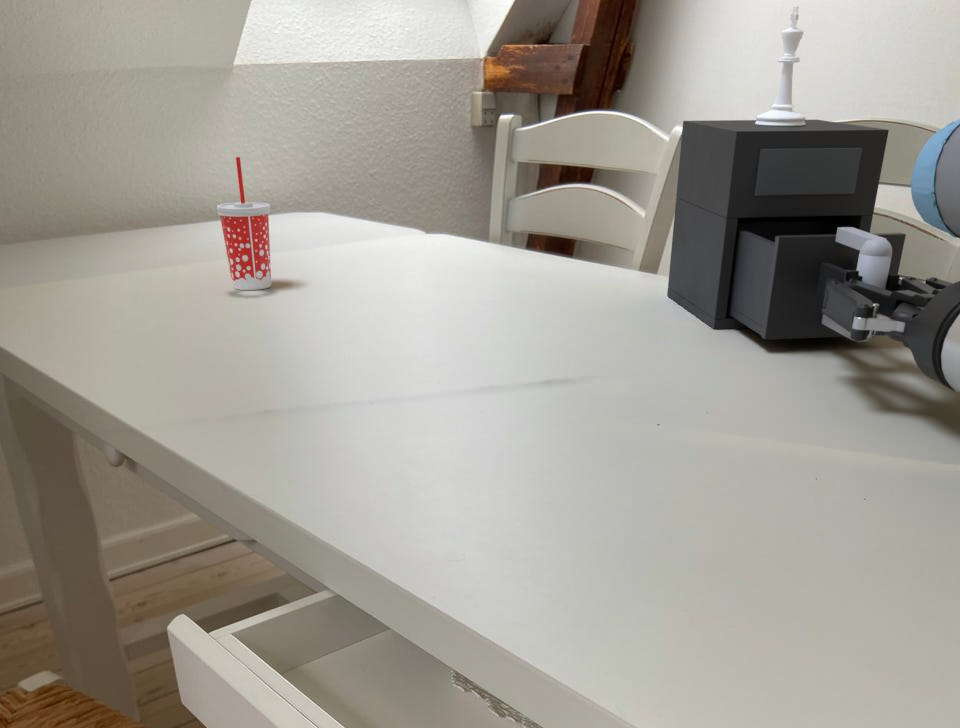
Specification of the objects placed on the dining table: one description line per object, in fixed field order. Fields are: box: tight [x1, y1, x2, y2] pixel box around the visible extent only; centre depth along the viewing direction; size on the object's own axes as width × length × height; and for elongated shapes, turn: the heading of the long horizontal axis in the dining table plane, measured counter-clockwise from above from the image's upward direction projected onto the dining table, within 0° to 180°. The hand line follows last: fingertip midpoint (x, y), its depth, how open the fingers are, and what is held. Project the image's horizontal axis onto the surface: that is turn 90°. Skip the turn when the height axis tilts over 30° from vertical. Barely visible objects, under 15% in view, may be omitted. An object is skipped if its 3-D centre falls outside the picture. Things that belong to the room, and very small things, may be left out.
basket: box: [727, 220, 907, 343], centre depth 95 cm, size 23×12×10 cm, turn 8°
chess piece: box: [755, 6, 807, 126], centre depth 98 cm, size 5×5×10 cm
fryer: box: [666, 119, 889, 330], centre depth 105 cm, size 16×15×18 cm
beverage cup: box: [216, 156, 272, 291], centre depth 117 cm, size 6×6×14 cm
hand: (840, 278), depth 91 cm, fingers closed on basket, 3 cm apart
